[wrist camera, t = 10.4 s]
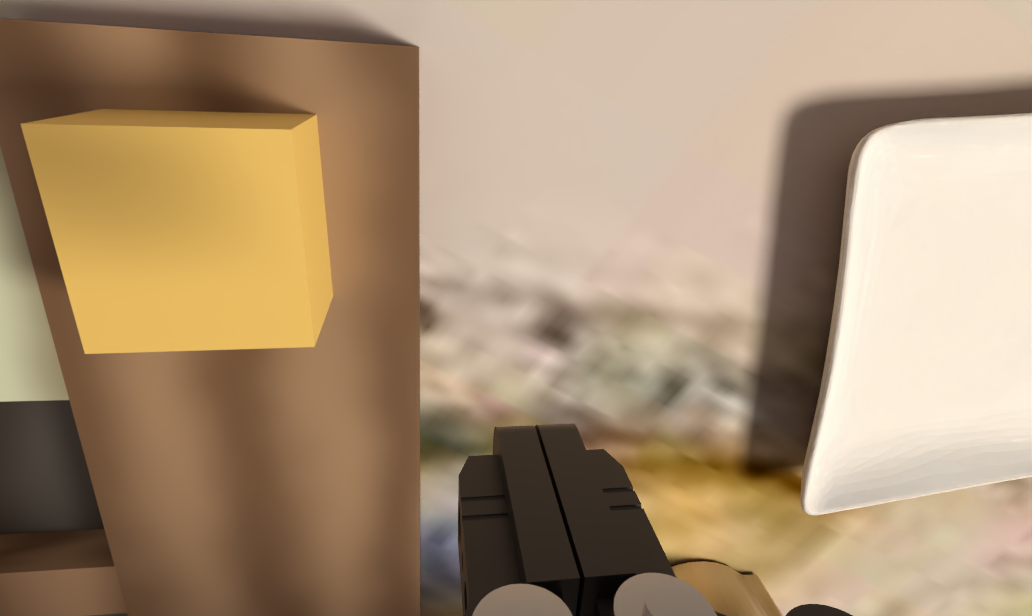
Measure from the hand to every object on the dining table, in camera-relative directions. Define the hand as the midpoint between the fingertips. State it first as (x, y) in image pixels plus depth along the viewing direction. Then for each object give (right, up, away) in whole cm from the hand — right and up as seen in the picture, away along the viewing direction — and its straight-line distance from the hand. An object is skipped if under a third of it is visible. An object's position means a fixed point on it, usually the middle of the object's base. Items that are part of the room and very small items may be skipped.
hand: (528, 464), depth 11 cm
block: (-11, +7, +11) cm, 17 cm away
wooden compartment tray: (-18, -3, +17) cm, 25 cm away
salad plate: (+25, +3, +22) cm, 33 cm away
